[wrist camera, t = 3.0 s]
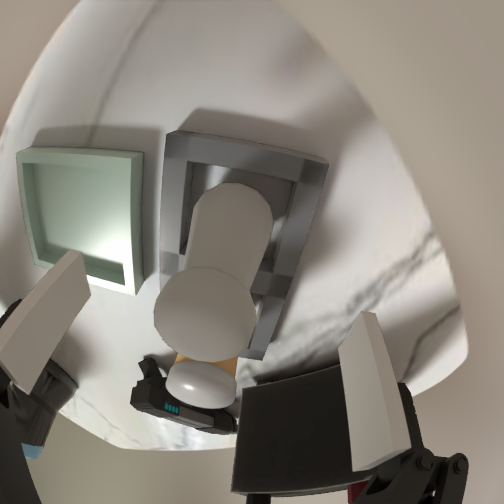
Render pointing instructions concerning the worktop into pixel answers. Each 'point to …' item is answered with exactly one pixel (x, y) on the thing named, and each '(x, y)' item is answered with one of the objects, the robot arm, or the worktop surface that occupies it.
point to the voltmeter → (295, 440)
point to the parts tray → (85, 210)
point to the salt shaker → (216, 276)
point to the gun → (176, 404)
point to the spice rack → (270, 270)
